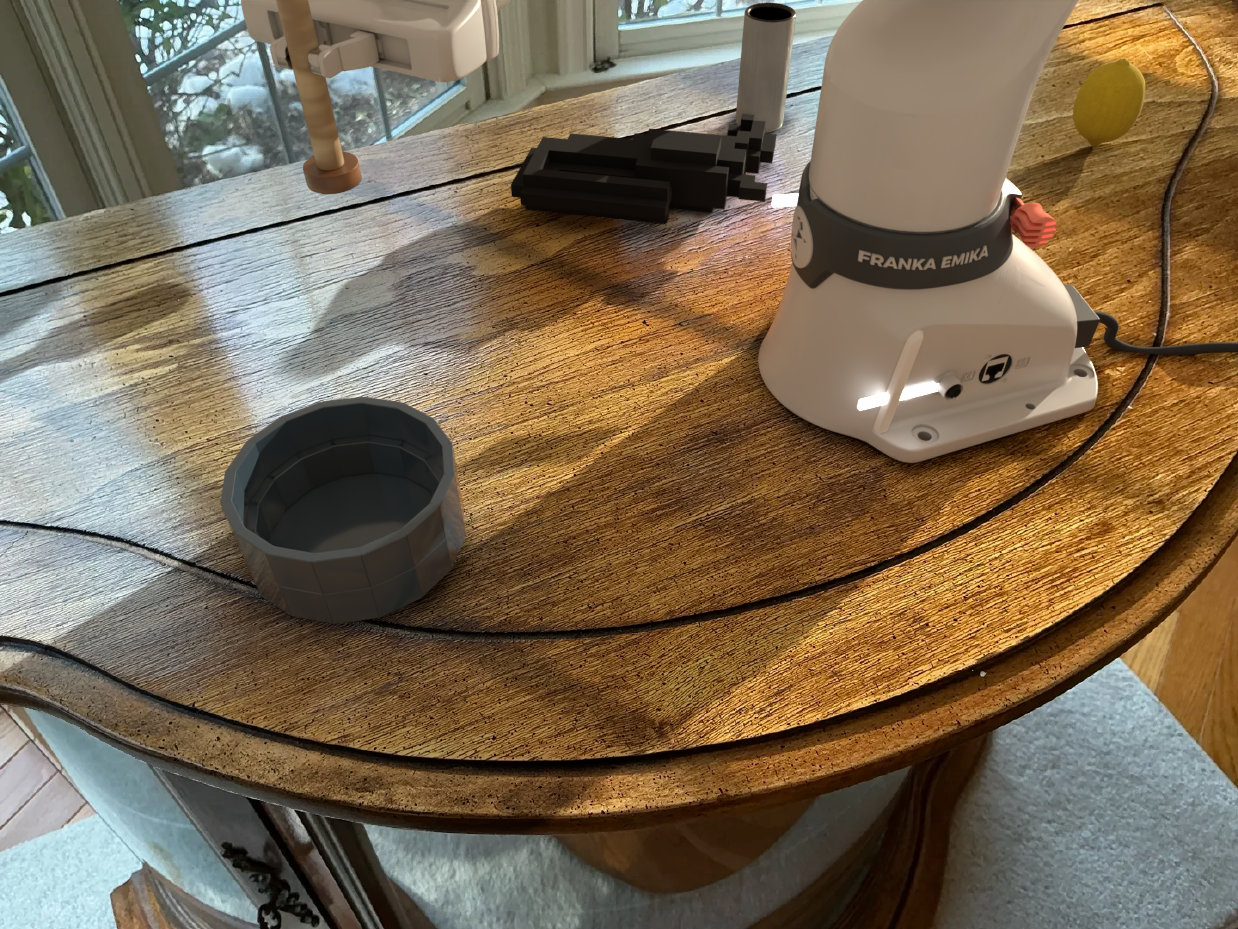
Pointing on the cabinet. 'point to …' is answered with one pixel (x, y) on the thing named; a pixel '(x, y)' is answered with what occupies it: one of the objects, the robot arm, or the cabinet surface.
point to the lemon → (1109, 102)
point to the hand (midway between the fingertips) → (297, 62)
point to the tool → (645, 172)
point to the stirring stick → (316, 106)
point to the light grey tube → (765, 63)
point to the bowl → (346, 508)
